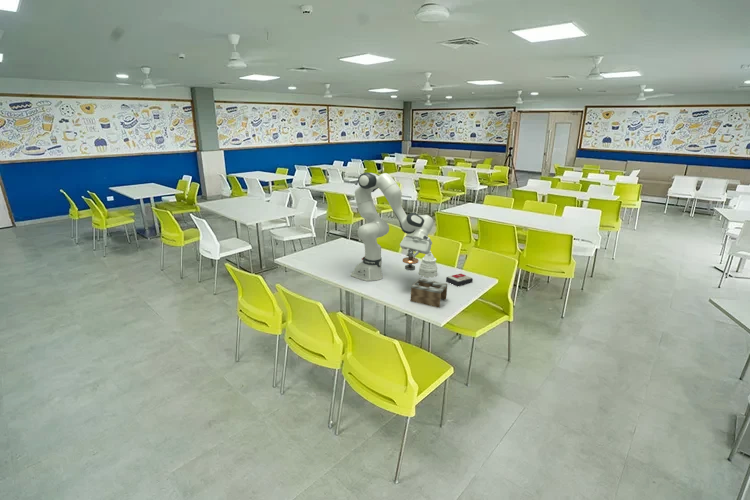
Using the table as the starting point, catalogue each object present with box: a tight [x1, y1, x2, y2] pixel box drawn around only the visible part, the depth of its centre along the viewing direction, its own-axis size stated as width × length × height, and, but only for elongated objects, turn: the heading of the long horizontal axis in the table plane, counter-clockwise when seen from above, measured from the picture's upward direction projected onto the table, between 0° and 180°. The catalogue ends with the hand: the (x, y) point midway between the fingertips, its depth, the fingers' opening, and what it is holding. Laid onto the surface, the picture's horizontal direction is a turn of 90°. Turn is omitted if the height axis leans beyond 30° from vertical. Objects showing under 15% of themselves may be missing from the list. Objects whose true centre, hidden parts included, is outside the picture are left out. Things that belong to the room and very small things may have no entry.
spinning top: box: [402, 251, 420, 272], centre depth 240 cm, size 10×10×12 cm
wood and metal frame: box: [410, 277, 448, 308], centre depth 231 cm, size 18×14×10 cm
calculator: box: [445, 273, 474, 287], centre depth 262 cm, size 11×4×15 cm
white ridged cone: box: [418, 250, 438, 278], centre depth 272 cm, size 13×13×18 cm
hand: (410, 256), depth 238 cm, fingers closed on spinning top, 3 cm apart
